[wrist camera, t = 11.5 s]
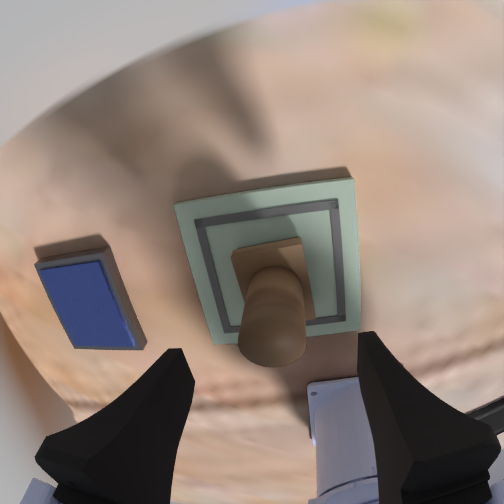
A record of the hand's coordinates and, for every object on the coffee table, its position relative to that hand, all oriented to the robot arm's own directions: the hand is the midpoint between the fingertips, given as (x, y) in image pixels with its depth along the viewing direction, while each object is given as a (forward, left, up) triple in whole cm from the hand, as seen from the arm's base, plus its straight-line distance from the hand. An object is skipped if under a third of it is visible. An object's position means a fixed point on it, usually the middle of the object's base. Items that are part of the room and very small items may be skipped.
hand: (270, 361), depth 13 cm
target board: (0, 0, -8) cm, 8 cm away
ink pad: (-1, +14, -8) cm, 16 cm away
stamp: (0, 0, -7) cm, 7 cm away
